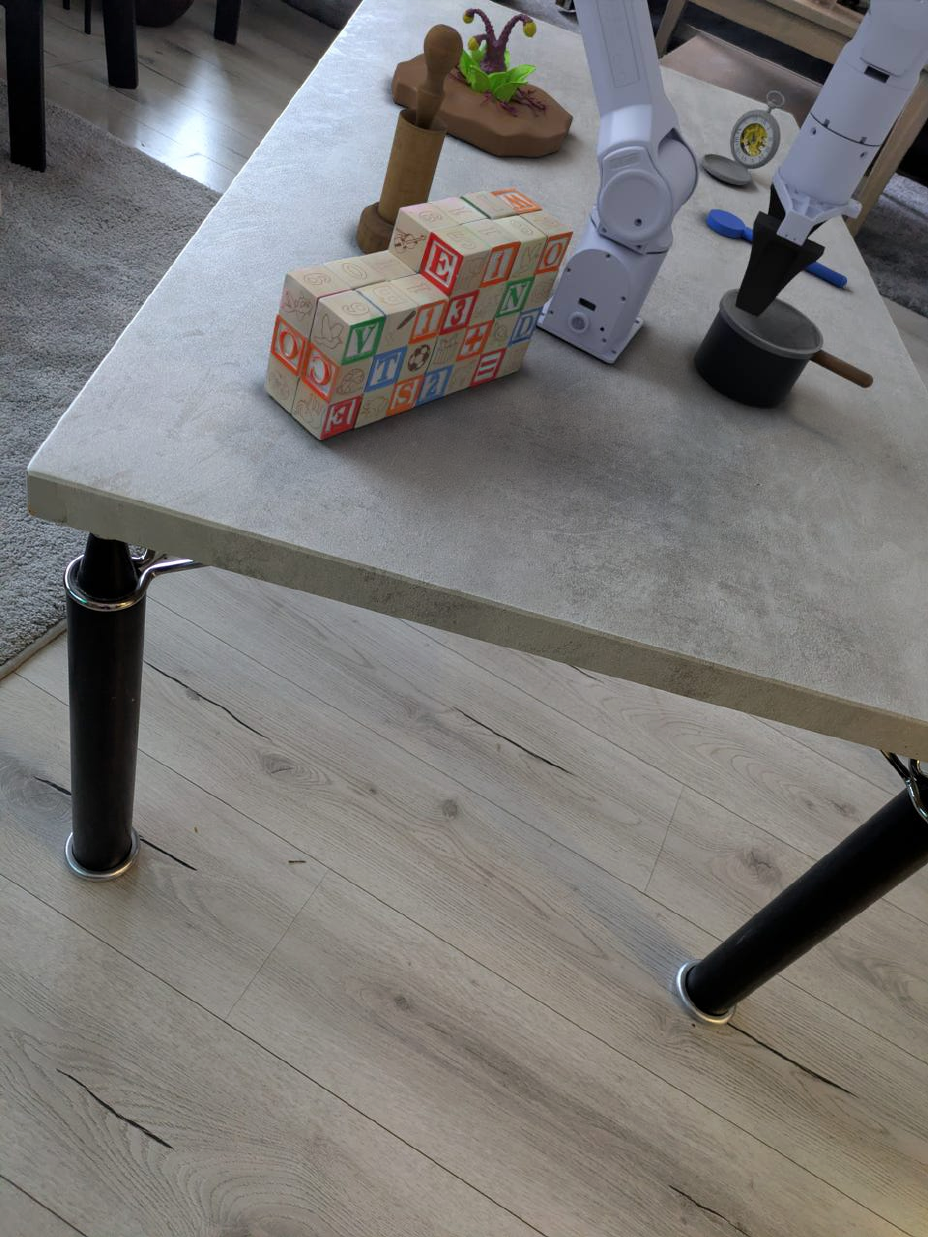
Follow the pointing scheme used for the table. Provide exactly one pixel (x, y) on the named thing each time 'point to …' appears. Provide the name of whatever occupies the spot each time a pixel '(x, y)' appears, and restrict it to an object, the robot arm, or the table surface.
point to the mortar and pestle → (413, 144)
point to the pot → (764, 353)
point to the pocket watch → (756, 130)
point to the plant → (491, 96)
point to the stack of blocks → (415, 311)
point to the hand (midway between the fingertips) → (754, 292)
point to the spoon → (736, 228)
